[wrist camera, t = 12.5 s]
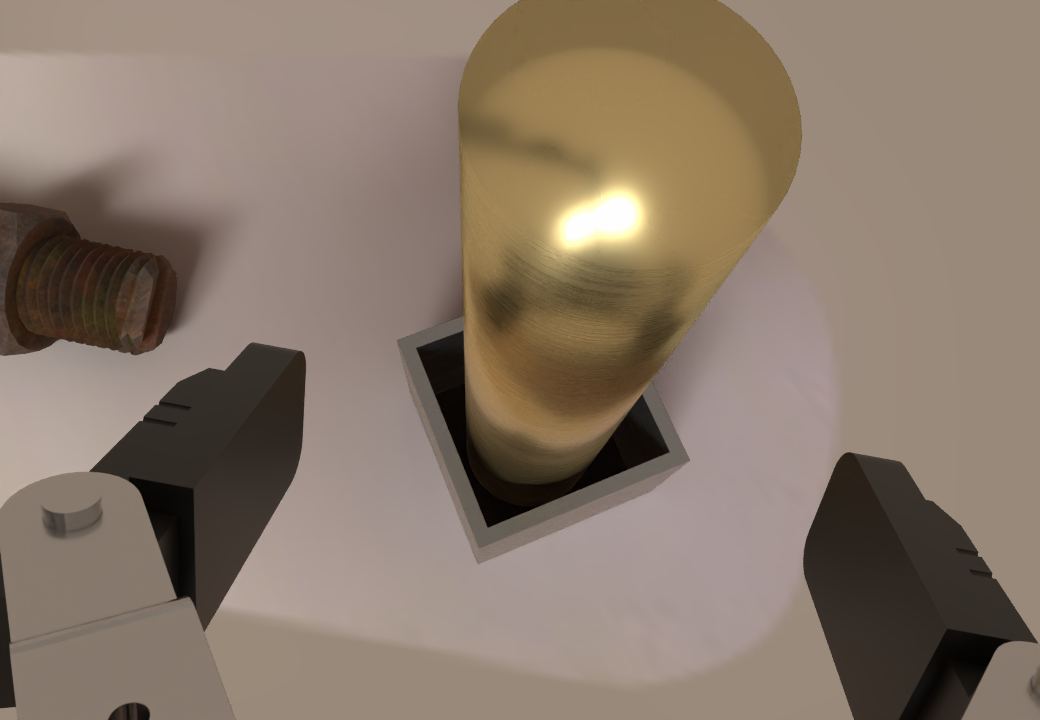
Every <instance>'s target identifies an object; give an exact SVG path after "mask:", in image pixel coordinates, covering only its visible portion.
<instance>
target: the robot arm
mask: <svg viewBox="0 0 1040 720" xmlns="http://www.w3.org/2000/svg"><path fill="white" fill-rule="evenodd" d="M305 377H306V360H305V355H304V353H303V352H302V351H297V350H292V349H286V348H281V347H275V346H270V345H264V344H259V343H250V344H249V345H248V346H247V347H246V348H245V349H244V350H243V351H242V352H241V354H240V355H239V356H238V357H237V358H236V359H235V360H234V361H233V362H232V363H231V365H230V366H229V367H228V368H227V369H226V370H225V371H223V370H217V369H212V368H208V369H206V370H204V371H201V372H199V373H197V374H195V375H193V376H191V377H188V378H186V379H184V380H182V381H180V382H178V383H177V384H176V385H175V386H174V387H173V388H172V389H171V390H170V391H169V392H168V393H167V394H166V395H165V396H164V397H163V398H162V399H161V400H160V401H159V405H155V406H154V407H153V408H152V409H151V410H150V411H149V412H148V413H147V414H146V415H145V416H144V419H143V421H139V422H138V423H137V424H136V425H135V426H134V427H133V428H132V429H131V430H130V431H129V432H128V433H127V434H126V435H125V436H124V437H123V438H122V439H121V440H120V441H119V442H118V443H117V444H116V445H115V446H114V447H113V448H112V449H111V450H110V451H109V452H108V453H107V454H106V455H105V456H104V457H103V458H102V459H101V460H100V461H99V462H98V463H97V464H96V465H95V466H94V467H93V468H92V469H91V470H90V471H89V472H75V473H67V474H61V475H57V476H52V477H49V478H46V479H43V480H40V481H37V482H35V483H33V484H30V485H28V486H26V487H25V488H23V489H21V490H19V491H18V492H17V493H15V494H14V495H13V496H11V497H10V498H9V499H8V500H7V501H6V502H5V503H4V505H3V506H2V508H1V509H0V708H8V707H16V709H17V718H18V720H236V719H235V716H234V713H233V710H232V708H231V705H230V702H229V700H228V697H227V694H226V691H225V688H224V686H223V683H222V680H221V677H220V675H219V672H218V669H217V666H216V664H215V661H214V658H213V655H212V653H211V650H210V647H209V644H208V642H207V639H206V636H205V633H204V632H205V630H206V628H207V626H208V625H209V623H210V621H211V619H212V618H213V616H214V614H215V613H216V611H217V609H218V608H219V606H220V604H221V602H222V601H223V599H224V597H225V596H226V594H227V592H228V590H229V589H230V587H231V585H232V584H233V582H234V580H235V578H236V577H237V575H238V573H239V572H240V570H241V568H242V566H243V565H244V563H245V561H246V560H247V558H248V556H249V554H250V553H251V551H252V549H253V548H254V546H255V544H256V542H257V541H258V539H259V537H260V536H261V534H262V532H263V530H264V529H265V527H266V525H267V524H268V522H269V520H270V518H271V517H272V515H273V513H274V512H275V510H276V508H277V507H278V505H279V503H280V501H281V500H282V498H283V496H284V495H285V493H286V491H287V489H288V488H289V486H290V484H291V482H292V480H293V478H294V476H295V473H296V470H297V467H298V463H299V459H300V454H301V448H302V438H303V418H304V397H305ZM803 566H804V575H805V579H806V582H807V585H808V588H809V590H810V593H811V596H812V599H813V602H814V605H815V608H816V611H817V614H818V616H819V619H820V622H821V625H822V628H823V631H824V634H825V637H826V640H827V643H828V645H829V648H830V651H831V654H832V657H833V660H834V663H835V666H836V669H837V672H838V674H839V677H840V680H841V683H842V686H843V689H844V692H845V695H846V697H847V700H848V703H849V706H850V709H851V712H852V715H853V718H854V720H1040V644H1038V642H1037V641H1036V639H1035V638H1034V636H1033V635H1032V633H1031V632H1030V630H1029V629H1028V627H1027V626H1026V624H1025V622H1024V621H1023V620H1022V618H1021V616H1020V615H1019V613H1018V612H1017V610H1016V609H1015V607H1014V606H1013V604H1012V603H1011V601H1010V600H1009V598H1008V597H1007V595H1006V594H1005V592H1004V590H1003V589H1002V588H1001V586H1000V584H999V583H998V581H997V580H996V579H993V578H992V572H991V571H990V569H989V568H988V566H987V565H986V563H985V562H984V560H983V559H982V557H978V551H977V549H976V548H975V546H974V545H973V543H972V542H971V540H970V539H969V537H968V536H967V534H966V532H965V531H964V530H963V528H962V526H961V525H959V524H958V523H957V522H956V521H955V520H954V519H952V518H951V517H950V516H949V515H948V514H946V513H945V512H944V511H943V510H942V509H941V508H940V507H939V506H937V505H936V504H935V503H934V502H933V501H929V500H925V498H924V497H923V495H922V493H921V492H920V490H919V488H918V487H917V485H916V484H915V482H914V480H913V479H912V477H911V476H910V474H909V472H908V471H907V469H906V468H905V466H904V465H903V464H902V463H901V462H899V461H894V460H889V459H883V458H878V457H872V456H867V455H861V454H855V453H850V452H849V453H845V454H844V455H842V457H841V458H840V459H839V460H838V462H837V464H836V466H835V468H834V471H833V473H832V476H831V478H830V481H829V483H828V486H827V488H826V491H825V493H824V496H823V498H822V501H821V503H820V506H819V508H818V511H817V513H816V516H815V518H814V520H813V523H812V525H811V528H810V530H809V533H808V536H807V539H806V543H805V548H804V558H803Z"/></svg>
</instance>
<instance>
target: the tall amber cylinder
mask: <svg viewBox="0 0 1040 720" xmlns="http://www.w3.org/2000/svg"><path fill="white" fill-rule="evenodd" d="M458 123H459V163H460V203H461V242H462V282H463V322H464V362H465V402H466V442H467V455H468V460H469V463H470V466H471V469H472V471H473V473H474V475H475V476H476V478H477V479H478V481H479V482H480V483H481V485H482V486H483V487H484V488H485V489H486V490H487V491H488V492H490V493H491V494H492V495H494V496H495V497H497V498H499V499H501V500H503V501H505V502H507V503H510V504H514V505H519V506H539V505H544V504H547V503H549V502H551V501H554V500H556V499H559V498H561V497H562V496H564V495H565V494H566V493H568V492H569V491H570V490H571V489H572V488H573V487H574V486H575V485H576V483H577V482H578V481H579V479H580V478H581V477H582V475H583V474H584V473H585V471H586V470H587V468H588V467H589V466H590V464H591V463H592V462H593V460H594V459H595V457H596V456H597V455H598V453H599V452H600V451H601V449H602V448H603V447H604V445H605V444H606V442H607V441H608V440H609V438H610V437H611V436H612V434H613V433H614V431H615V430H616V429H617V427H618V426H619V425H620V423H621V422H622V420H623V419H624V418H625V416H626V415H627V414H628V412H629V411H630V410H631V408H632V407H633V405H634V404H635V403H636V401H637V400H638V399H639V397H640V396H641V394H642V393H643V392H644V390H645V389H646V388H647V386H648V385H649V383H650V382H651V381H652V379H653V378H654V377H655V375H656V374H657V373H658V371H659V370H660V368H661V367H662V366H663V364H664V363H665V362H666V360H667V359H668V357H669V356H670V355H671V353H672V352H673V351H674V349H675V348H676V346H677V345H678V344H679V342H680V341H681V340H682V338H683V337H684V336H685V334H686V333H687V331H688V330H689V329H690V327H691V326H692V325H693V323H694V322H695V320H696V319H697V318H698V316H699V315H700V314H701V312H702V311H703V309H704V308H705V307H706V305H707V304H708V303H709V301H710V300H711V299H712V297H713V296H714V294H715V293H716V292H717V290H718V289H719V288H720V286H721V285H722V283H723V282H724V281H725V279H726V278H727V277H728V275H729V274H730V272H731V271H732V270H733V268H734V267H735V266H736V264H737V263H738V262H739V260H740V259H741V257H742V256H743V255H744V253H745V252H746V251H747V249H748V248H749V246H750V245H751V244H752V242H753V241H754V240H755V238H756V237H757V235H758V234H759V233H760V231H761V230H762V229H763V227H764V226H765V225H766V223H767V222H768V220H769V219H770V218H771V216H772V215H773V214H774V212H775V211H776V209H777V208H778V206H779V205H780V203H781V201H782V200H783V198H784V197H785V195H786V194H787V192H788V190H789V187H790V185H791V183H792V180H793V178H794V176H795V173H796V169H797V165H798V161H799V157H800V150H801V140H802V130H801V116H800V111H799V106H798V101H797V97H796V95H795V92H794V89H793V86H792V83H791V80H790V78H789V76H788V74H787V72H786V70H785V68H784V67H783V65H782V63H781V61H780V60H779V58H778V57H777V55H776V54H775V52H774V51H773V49H772V48H771V47H770V45H769V44H768V43H767V42H766V41H765V40H764V38H763V37H762V36H761V35H760V34H759V33H758V32H757V31H756V30H755V29H754V28H753V27H752V26H751V25H750V24H749V23H748V22H746V21H745V20H744V19H743V18H742V17H741V16H739V15H738V14H737V13H735V12H734V11H732V10H731V9H730V8H728V7H727V6H725V5H724V4H722V3H721V2H719V1H717V0H520V1H518V2H517V3H515V4H514V5H512V6H511V7H509V8H508V9H507V10H506V11H505V12H504V13H503V14H502V15H501V16H500V17H498V18H497V19H496V20H495V21H494V22H493V23H492V24H491V26H490V27H489V28H488V29H487V30H486V31H485V33H484V34H483V35H482V37H481V39H480V40H479V41H478V43H477V45H476V46H475V48H474V49H473V51H472V53H471V56H470V58H469V60H468V62H467V65H466V67H465V70H464V74H463V78H462V81H461V85H460V92H459V102H458Z"/></svg>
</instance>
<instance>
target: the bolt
mask: <svg viewBox="0 0 1040 720" xmlns="http://www.w3.org/2000/svg"><path fill="white" fill-rule="evenodd" d="M176 288H177V277H176V273H175V272H174V270H173V269H172V268H171V266H170V264H169V262H168V260H167V259H166V258H165V257H164V256H157V257H156V256H155V255H154V254H152V253H143V252H140V251H137V252H134V251H133V250H132V249H122V248H120V247H118V246H117V247H112V246H110V245H108V244H105V245H102V244H101V243H96V242H90V241H88V240H81V238H80V235H79V234H78V232H77V230H76V229H75V227H74V226H73V224H72V223H71V221H70V219H69V218H68V216H67V215H66V213H65V212H62V211H57V210H52V209H48V208H43V207H38V206H33V205H24V204H13V203H0V355H3V356H6V355H16V354H26V353H30V352H35V351H40V350H42V349H44V348H46V347H49V346H51V345H52V344H53V343H54V342H55V341H56V340H57V339H65V340H67V341H69V342H71V341H75V342H77V343H81V344H84V343H85V344H86V345H91V346H95V345H96V346H97V347H101V348H109V349H111V350H118V351H119V352H123V353H127V352H131V354H132V355H139V354H142V353H144V352H149V351H152V350H154V349H155V348H156V347H158V346H159V345H160V344H161V343H162V341H163V339H164V336H165V334H166V332H167V329H168V327H169V324H170V322H171V319H172V316H173V312H174V308H175V301H176Z"/></svg>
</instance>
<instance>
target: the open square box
mask: <svg viewBox="0 0 1040 720" xmlns="http://www.w3.org/2000/svg"><path fill="white" fill-rule="evenodd" d="M397 343H398V347H399V351H400V354H401V358H402V362H403V366H404V370H405V373H406V377H407V381H408V385H409V389H410V392H411V395H412V397H413V400H414V402H415V405H416V407H417V410H418V413H419V415H420V418H421V420H422V423H423V425H424V428H425V430H426V433H427V436H428V438H429V441H430V443H431V446H432V448H433V451H434V454H435V456H436V459H437V461H438V464H439V466H440V469H441V471H442V474H443V477H444V479H445V482H446V484H447V487H448V489H449V492H450V494H451V497H452V500H453V502H454V505H455V507H456V510H457V512H458V515H459V517H460V520H461V523H462V525H463V528H464V530H465V533H466V535H467V538H468V540H469V543H470V546H471V548H472V551H473V553H474V556H475V558H476V561H477V564H480V563H482V562H484V561H487V560H489V559H492V558H494V557H496V556H499V555H501V554H503V553H506V552H508V551H511V550H513V549H515V548H518V547H520V546H522V545H525V544H527V543H529V542H532V541H534V540H537V539H539V538H541V537H544V536H546V535H548V534H551V533H553V532H555V531H558V530H560V529H563V528H565V527H567V526H570V525H572V524H574V523H577V522H579V521H582V520H584V519H586V518H589V517H591V516H593V515H596V514H598V513H600V512H603V511H605V510H608V509H610V508H612V507H615V506H617V505H619V504H622V503H624V502H626V501H629V500H631V499H634V498H636V497H638V496H641V495H643V494H645V493H648V492H650V491H652V490H653V489H654V488H656V487H657V486H658V485H659V484H661V483H662V482H663V481H665V480H666V479H667V478H668V477H670V476H671V475H672V474H673V473H675V472H676V471H677V470H679V469H680V468H681V467H682V466H684V465H685V464H686V463H688V462H689V461H690V459H689V457H688V455H687V453H686V451H685V449H684V447H683V445H682V443H681V441H680V438H679V436H678V434H677V432H676V430H675V428H674V426H673V424H672V422H671V420H670V418H669V416H668V414H667V412H666V409H665V407H664V405H663V403H662V401H661V399H660V397H659V395H658V393H657V391H656V389H655V387H654V385H653V383H652V381H651V382H650V383H649V385H648V386H647V388H646V389H645V390H644V392H643V393H642V394H641V396H640V397H639V399H638V400H637V401H636V403H635V404H634V405H633V407H632V408H631V410H630V411H629V412H628V414H627V415H626V416H625V418H624V419H623V420H622V422H621V423H620V425H619V426H618V427H617V429H616V430H615V431H614V433H613V434H612V436H613V439H614V441H615V443H616V445H617V447H618V450H619V452H620V454H621V456H622V458H623V460H624V463H625V465H626V467H627V469H628V470H626V471H624V472H621V473H619V474H616V475H614V476H612V477H609V478H607V479H604V480H602V481H600V482H597V483H595V484H592V485H590V486H588V487H585V488H583V489H580V490H578V491H576V492H573V493H571V494H568V495H566V496H563V497H561V498H559V499H556V500H554V501H551V502H549V503H547V504H544V505H542V506H539V507H537V508H535V509H532V510H530V511H527V512H525V513H523V514H520V515H518V516H515V517H513V518H511V519H508V520H506V521H503V522H501V523H498V524H496V525H494V526H491V527H489V528H488V527H487V525H486V522H485V520H484V517H483V515H482V512H481V510H480V507H479V505H478V502H477V500H476V497H475V495H474V492H473V490H472V487H471V485H470V482H469V480H468V477H467V475H466V472H465V470H464V467H463V465H462V462H461V460H460V457H459V455H458V452H457V450H456V447H455V445H454V442H453V440H452V437H451V435H450V432H449V430H448V427H447V425H446V422H445V420H444V417H443V415H442V412H441V410H440V407H439V405H438V402H437V400H436V397H435V394H438V393H440V392H443V391H446V390H448V389H451V388H454V387H456V386H459V385H461V384H464V383H465V362H464V322H463V316H462V317H459V318H456V319H453V320H451V321H448V322H445V323H443V324H440V325H437V326H434V327H432V328H429V329H426V330H423V331H421V332H418V333H415V334H412V335H410V336H407V337H404V338H402V339H399V340H397Z"/></svg>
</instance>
